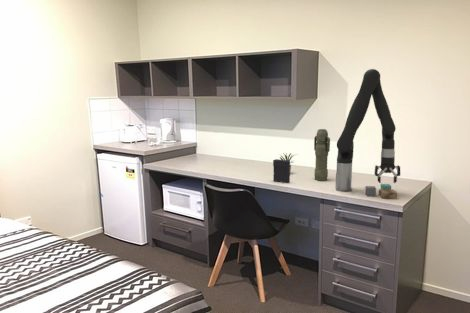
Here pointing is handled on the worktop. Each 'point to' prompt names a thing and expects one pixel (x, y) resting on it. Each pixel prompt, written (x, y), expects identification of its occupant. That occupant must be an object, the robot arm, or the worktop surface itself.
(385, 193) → the brown square block
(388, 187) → the teal cube
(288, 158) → the house plant
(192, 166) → the worktop surface
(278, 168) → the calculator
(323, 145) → the olive green figurine
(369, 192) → the charcoal cube
